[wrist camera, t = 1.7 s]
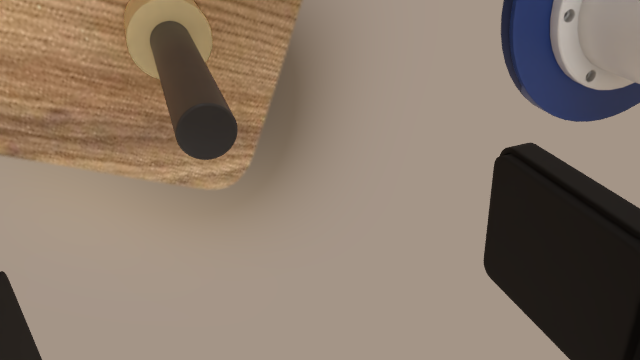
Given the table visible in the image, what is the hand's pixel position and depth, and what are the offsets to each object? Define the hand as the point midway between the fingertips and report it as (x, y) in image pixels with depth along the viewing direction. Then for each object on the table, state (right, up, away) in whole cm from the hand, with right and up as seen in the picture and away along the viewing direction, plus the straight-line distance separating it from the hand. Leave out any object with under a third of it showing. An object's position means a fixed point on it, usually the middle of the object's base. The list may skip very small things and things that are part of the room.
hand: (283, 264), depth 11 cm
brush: (-8, +10, +21) cm, 25 cm away
